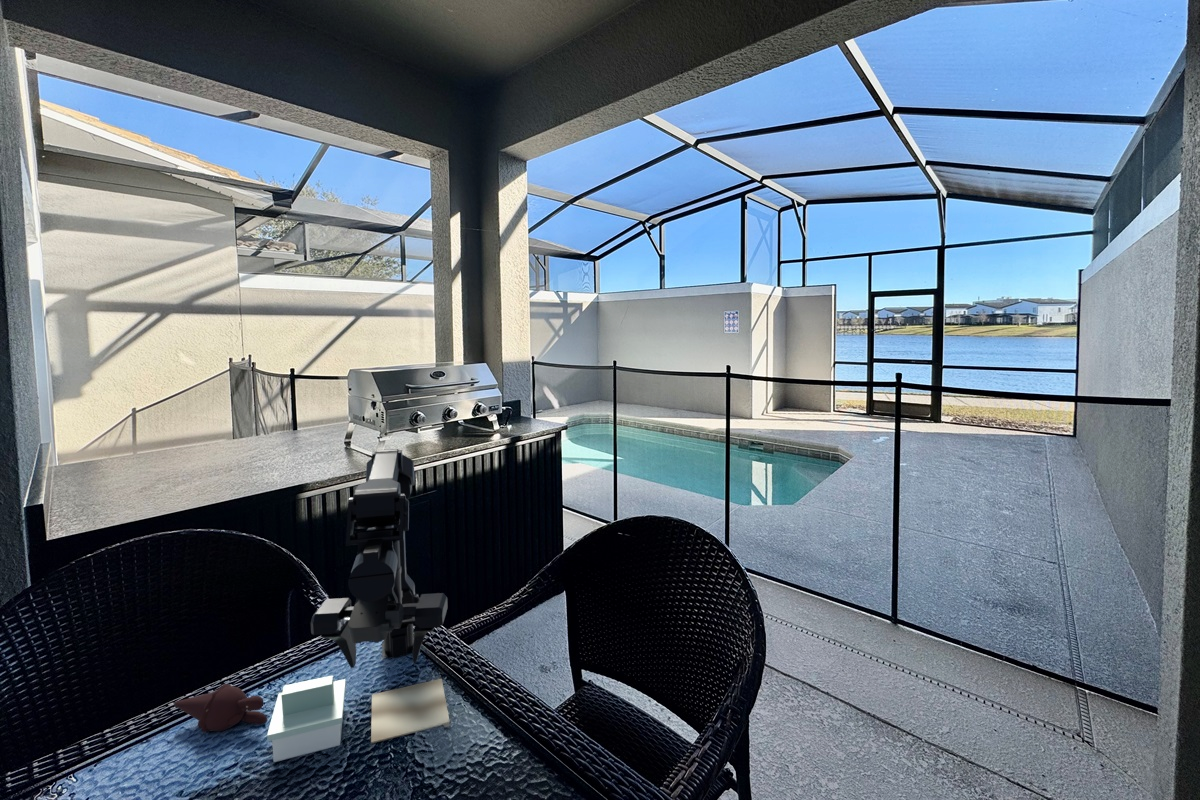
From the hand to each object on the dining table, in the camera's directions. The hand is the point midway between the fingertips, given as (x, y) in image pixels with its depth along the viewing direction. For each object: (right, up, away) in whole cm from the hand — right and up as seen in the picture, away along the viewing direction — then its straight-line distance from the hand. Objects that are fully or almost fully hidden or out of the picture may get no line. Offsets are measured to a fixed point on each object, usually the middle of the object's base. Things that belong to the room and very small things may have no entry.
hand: (384, 664), depth 82 cm
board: (+1, -13, +9) cm, 16 cm away
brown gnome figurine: (-29, -13, +5) cm, 32 cm away
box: (-13, -13, +3) cm, 19 cm away
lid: (-13, -10, +3) cm, 17 cm away
